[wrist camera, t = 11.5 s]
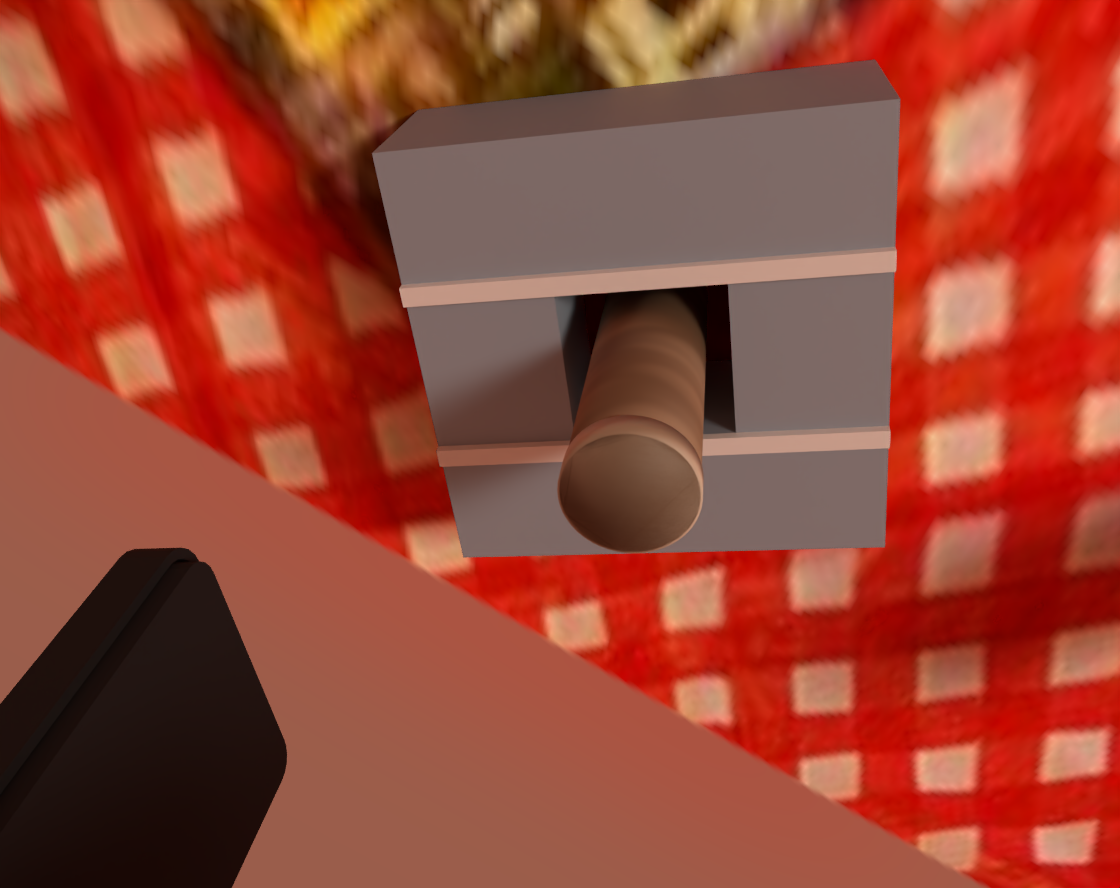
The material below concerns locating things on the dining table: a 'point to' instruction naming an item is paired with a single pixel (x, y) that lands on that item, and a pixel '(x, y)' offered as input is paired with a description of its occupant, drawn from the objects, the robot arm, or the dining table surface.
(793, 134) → the socket block
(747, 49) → the dining table surface
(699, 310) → the walnut peg
